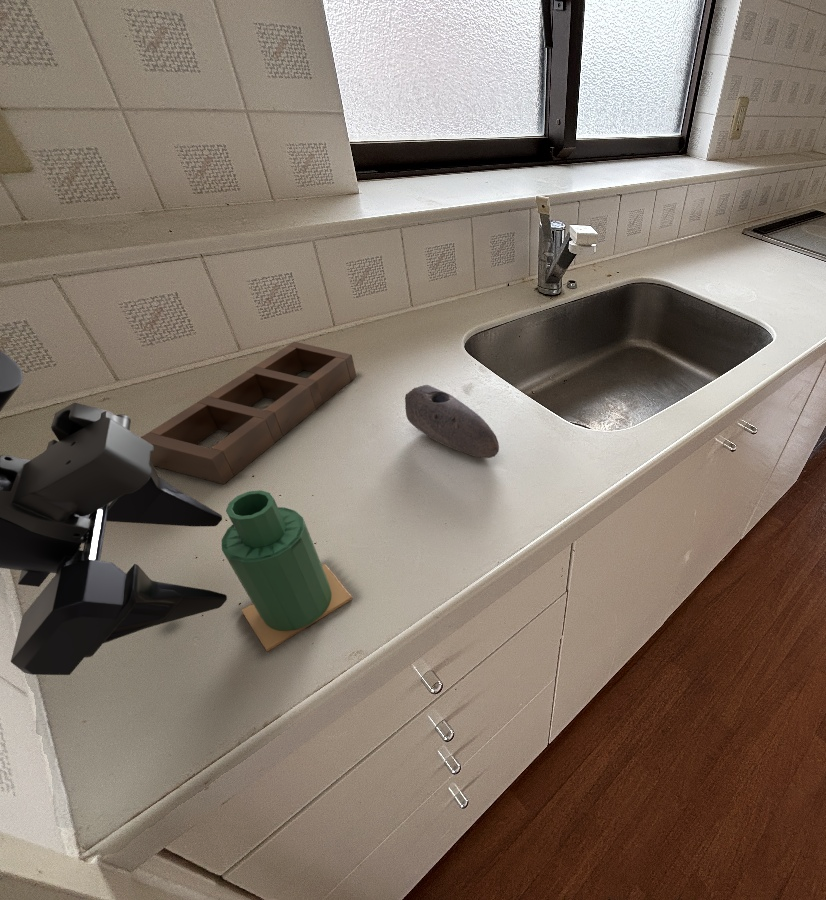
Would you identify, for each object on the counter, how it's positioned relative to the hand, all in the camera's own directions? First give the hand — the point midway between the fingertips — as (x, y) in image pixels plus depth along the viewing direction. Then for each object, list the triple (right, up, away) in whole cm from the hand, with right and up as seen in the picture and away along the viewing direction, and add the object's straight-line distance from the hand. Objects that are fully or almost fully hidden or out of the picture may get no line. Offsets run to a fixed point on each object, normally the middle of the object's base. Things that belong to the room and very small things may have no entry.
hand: (221, 558), depth 41 cm
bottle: (+2, -6, +7) cm, 10 cm away
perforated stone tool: (+11, +10, +29) cm, 33 cm away
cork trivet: (+2, -6, +8) cm, 10 cm away
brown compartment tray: (-16, +14, +29) cm, 36 cm away
